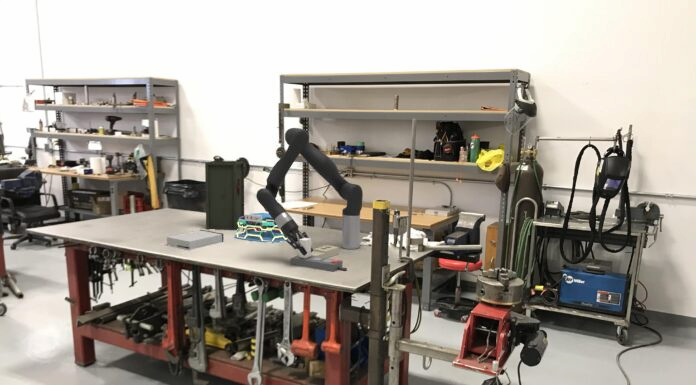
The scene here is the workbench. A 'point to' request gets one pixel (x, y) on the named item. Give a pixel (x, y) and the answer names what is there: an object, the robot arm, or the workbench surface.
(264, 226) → the stadium
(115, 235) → the workbench surface
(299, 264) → the power strip
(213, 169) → the green ammo box
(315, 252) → the electrical outlet
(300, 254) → the block
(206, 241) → the disc drive
